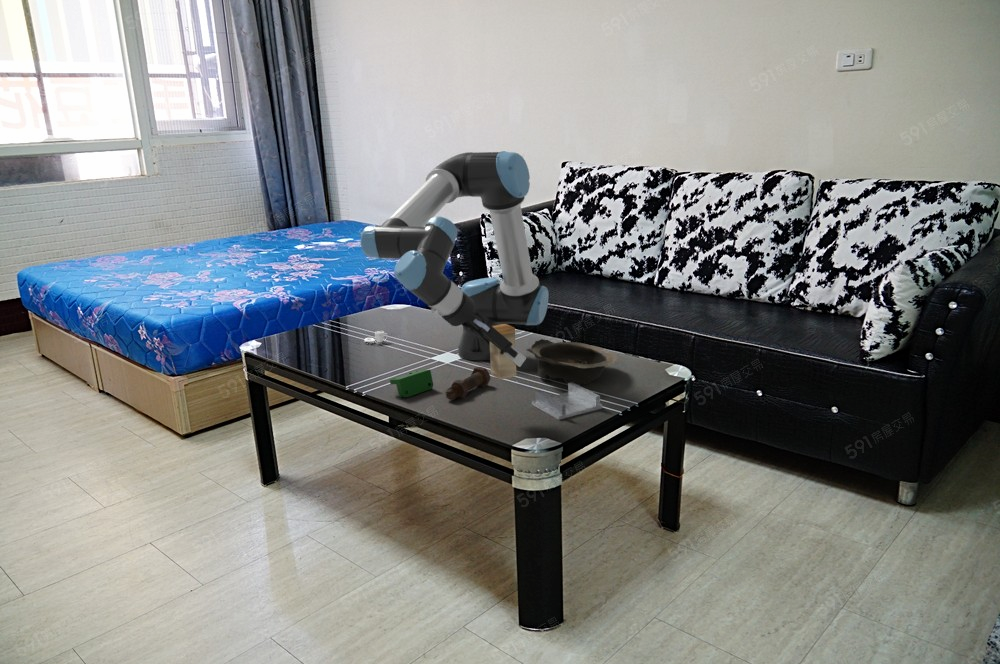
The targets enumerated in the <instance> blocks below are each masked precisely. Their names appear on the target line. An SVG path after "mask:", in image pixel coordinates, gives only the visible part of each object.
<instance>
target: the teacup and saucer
mask: <svg viewBox="0 0 1000 664" xmlns="http://www.w3.org/2000/svg"><path fill="white" fill-rule="evenodd" d="M385 335H386V338H385ZM387 338H388V333H386V332H385V331H384V330H376V331H374V338H373V337H366V338H364V340H363V341H364V343H365V342H374V341H375V340H376V341H377V342H382V341H384V342H385V341H386V339H387ZM384 339H385V340H384ZM376 341H375V342H376ZM377 342H376V343H377Z"/></svg>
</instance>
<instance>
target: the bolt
mask: <svg viewBox="0 0 1000 664" xmlns="http://www.w3.org/2000/svg"><path fill="white" fill-rule="evenodd" d="M490 381H491V373H490V372H489V371H488V370H487V368H485V367H482V366H476V367H474V368H473V370H472V373H471V374H470V375H469V376H468V377H466V378H465V379H463V380H461V379H455V380H454V381H453V382H452V384H451V385H450V387H447V389H446V390H445V397H446V399H448V400H451V401H454V400H456V399H457V398H460V399H463V398H465V397H467V396H468V393H469V391H471V390H473V389H474V388H476V387H478V386H479V387H484V388H485V387H487V386H488V385H489V383H490Z"/></svg>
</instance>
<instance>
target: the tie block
mask: <svg viewBox="0 0 1000 664" xmlns="http://www.w3.org/2000/svg"><path fill="white" fill-rule="evenodd" d="M500 324H501V325H496V326H492V327H493V328H495V329H496V330H497V331H498V332H499V333H500V334H501V335H503V336H504V337H505V338H506V339H507V340H508V341H509V342H511V343H512V344H513V345H512V346H513V347H514V348H516V328H515V327H514V326H512V325H509V324H508V323H500ZM516 349H517V348H516ZM500 352H501V350H500V349H499V348H498V347H496V346H495V345H494V344H493V343H491V342H490V360H489V361H490V376H493V377H494V378H496V379H497V380H504V379H509V378H514V377H517V365H516V364H515V363H514V362H513V361H511V360H510V359H509V358H508V357H507V356H506V355H504V354H503V355H501V354H500Z"/></svg>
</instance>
